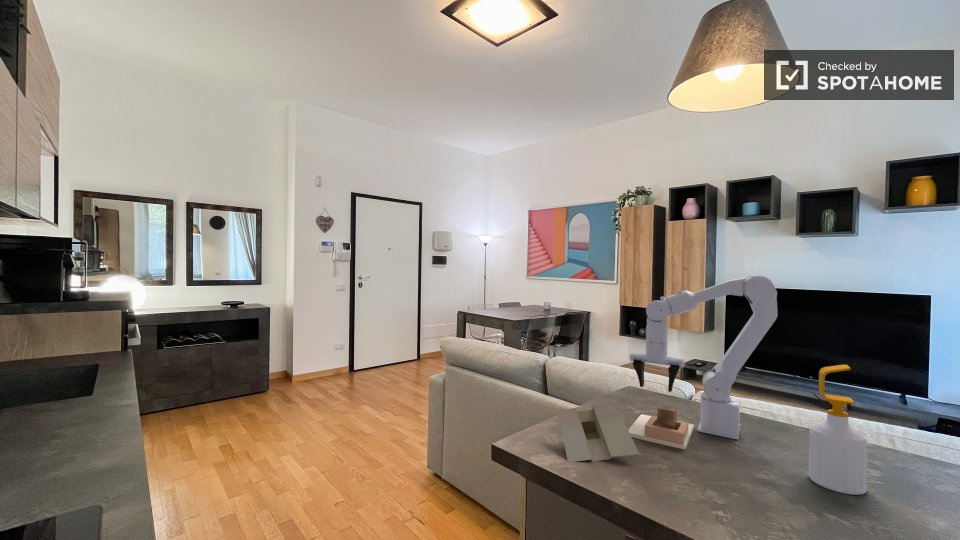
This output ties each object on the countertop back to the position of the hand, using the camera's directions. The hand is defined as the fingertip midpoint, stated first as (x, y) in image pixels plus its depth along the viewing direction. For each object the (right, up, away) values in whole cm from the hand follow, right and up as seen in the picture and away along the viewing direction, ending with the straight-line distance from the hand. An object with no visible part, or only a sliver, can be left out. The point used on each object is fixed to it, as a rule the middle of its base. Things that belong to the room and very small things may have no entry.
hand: (655, 388), depth 119 cm
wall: (-23, -9, -20) cm, 32 cm away
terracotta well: (-3, -8, -13) cm, 15 cm away
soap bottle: (+22, -10, -34) cm, 42 cm away
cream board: (-2, -9, -8) cm, 13 cm away
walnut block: (-3, -8, -13) cm, 15 cm away
